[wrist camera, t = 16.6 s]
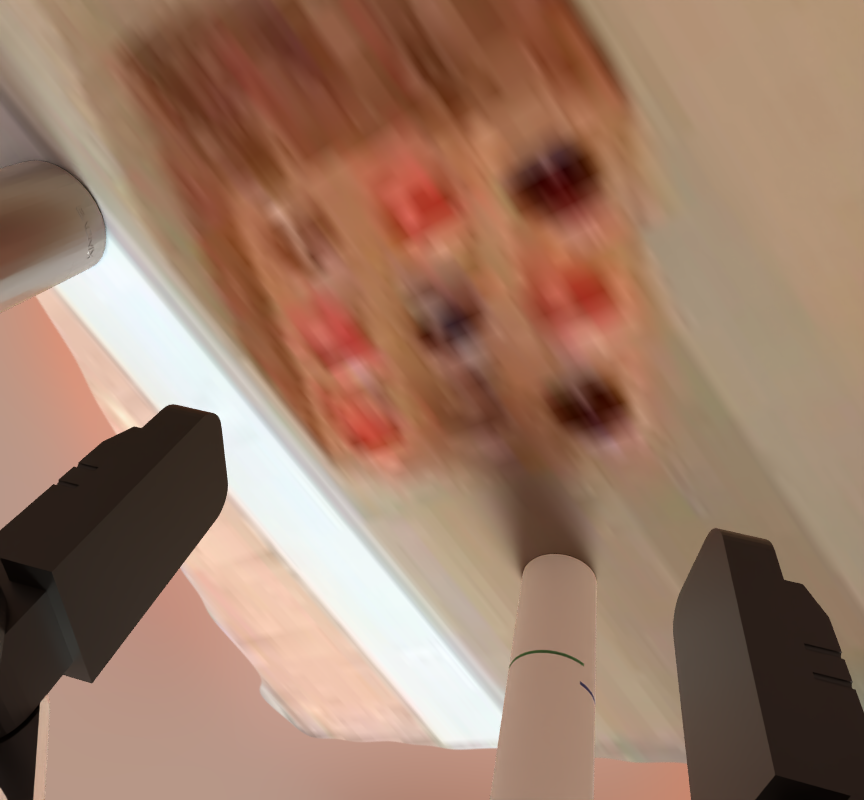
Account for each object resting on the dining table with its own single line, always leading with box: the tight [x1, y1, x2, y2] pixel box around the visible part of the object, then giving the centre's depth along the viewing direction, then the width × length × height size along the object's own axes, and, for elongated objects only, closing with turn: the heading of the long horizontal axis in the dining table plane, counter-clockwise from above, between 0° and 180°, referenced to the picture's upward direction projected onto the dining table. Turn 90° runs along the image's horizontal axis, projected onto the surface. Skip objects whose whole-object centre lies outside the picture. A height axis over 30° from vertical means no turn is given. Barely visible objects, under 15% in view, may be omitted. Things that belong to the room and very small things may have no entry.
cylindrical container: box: [490, 554, 597, 800], centre depth 50 cm, size 7×7×25 cm
